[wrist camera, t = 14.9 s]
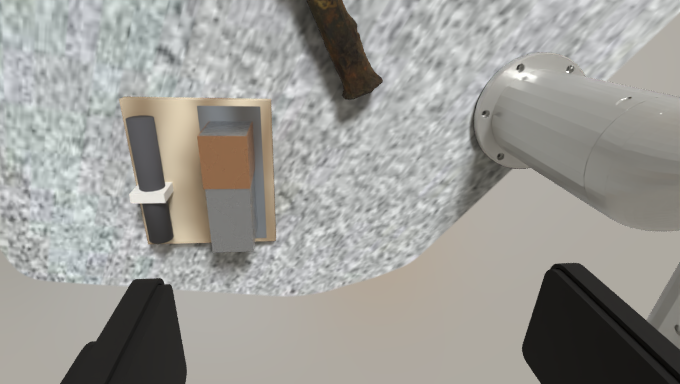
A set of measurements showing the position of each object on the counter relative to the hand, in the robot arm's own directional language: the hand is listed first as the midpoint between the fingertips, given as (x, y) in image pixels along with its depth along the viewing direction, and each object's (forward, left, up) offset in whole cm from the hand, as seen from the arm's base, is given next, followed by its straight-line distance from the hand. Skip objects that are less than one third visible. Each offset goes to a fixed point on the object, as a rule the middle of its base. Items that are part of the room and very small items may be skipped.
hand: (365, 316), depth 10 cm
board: (+11, +9, -32) cm, 35 cm away
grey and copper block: (+8, +9, -31) cm, 33 cm away
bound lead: (+16, +9, -32) cm, 37 cm away
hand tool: (0, -8, -33) cm, 34 cm away
